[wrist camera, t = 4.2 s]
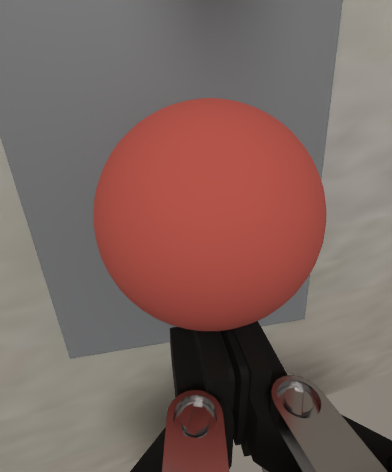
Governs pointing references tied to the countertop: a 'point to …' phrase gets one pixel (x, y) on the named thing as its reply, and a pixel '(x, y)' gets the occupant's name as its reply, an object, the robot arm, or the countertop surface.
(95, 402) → the countertop surface
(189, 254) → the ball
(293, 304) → the plate
